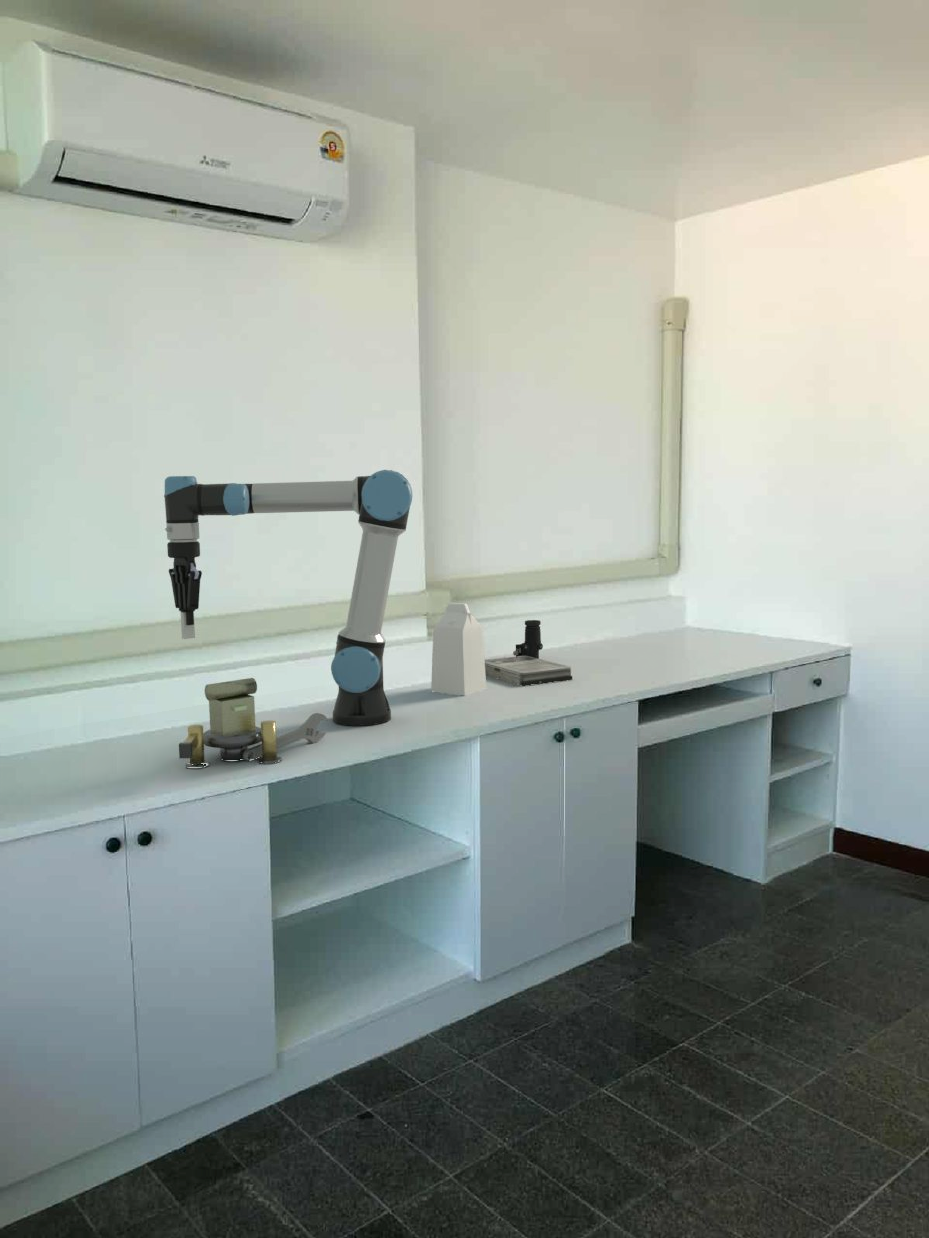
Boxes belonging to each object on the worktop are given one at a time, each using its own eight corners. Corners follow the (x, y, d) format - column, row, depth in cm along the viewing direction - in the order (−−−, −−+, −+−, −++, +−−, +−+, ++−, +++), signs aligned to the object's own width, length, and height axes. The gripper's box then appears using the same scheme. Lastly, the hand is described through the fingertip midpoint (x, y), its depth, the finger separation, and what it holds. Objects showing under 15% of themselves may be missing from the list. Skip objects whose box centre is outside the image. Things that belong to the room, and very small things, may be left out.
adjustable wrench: (246, 752, 224) (241, 750, 225) (252, 778, 225) (246, 777, 226) (325, 710, 242) (320, 709, 243) (330, 735, 244) (324, 734, 245)
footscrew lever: (191, 760, 223) (189, 725, 222) (205, 759, 224) (204, 724, 223) (178, 778, 209) (176, 740, 208) (194, 777, 210) (192, 739, 209)
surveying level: (239, 744, 240) (236, 671, 238) (286, 760, 225) (282, 682, 222) (165, 759, 228) (161, 682, 226) (208, 777, 212) (204, 695, 210)
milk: (486, 689, 302) (485, 602, 298) (464, 695, 292) (463, 606, 289) (453, 685, 308) (451, 600, 305) (431, 691, 299) (429, 604, 296)
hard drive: (522, 687, 305) (522, 673, 305) (477, 674, 329) (477, 660, 328) (572, 681, 314) (572, 667, 314) (525, 668, 337) (525, 655, 337)
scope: (526, 618, 355) (549, 620, 349) (526, 657, 357) (549, 660, 350) (511, 621, 349) (534, 623, 343) (512, 660, 351) (534, 663, 344)
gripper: (156, 540, 246) (162, 637, 249) (180, 542, 236) (186, 642, 239) (185, 539, 250) (190, 634, 253) (210, 540, 241) (215, 639, 244)
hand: (188, 638), depth 246 cm, fingers closed
